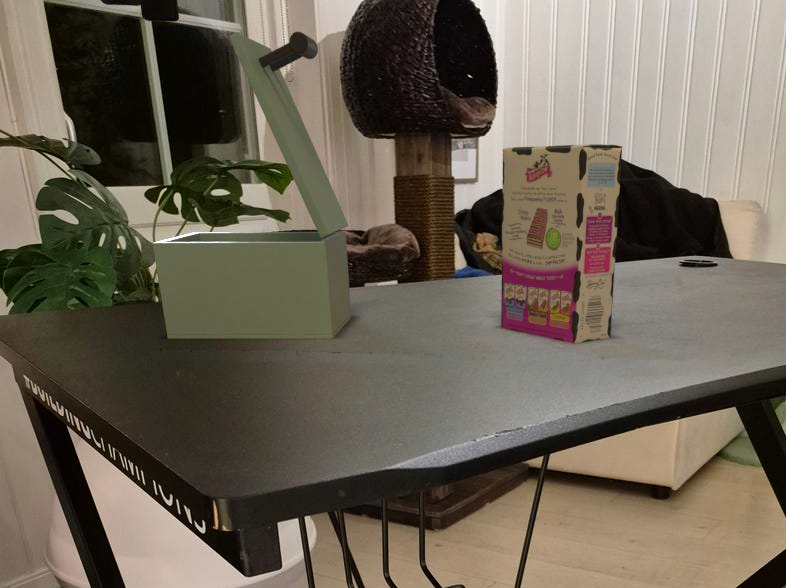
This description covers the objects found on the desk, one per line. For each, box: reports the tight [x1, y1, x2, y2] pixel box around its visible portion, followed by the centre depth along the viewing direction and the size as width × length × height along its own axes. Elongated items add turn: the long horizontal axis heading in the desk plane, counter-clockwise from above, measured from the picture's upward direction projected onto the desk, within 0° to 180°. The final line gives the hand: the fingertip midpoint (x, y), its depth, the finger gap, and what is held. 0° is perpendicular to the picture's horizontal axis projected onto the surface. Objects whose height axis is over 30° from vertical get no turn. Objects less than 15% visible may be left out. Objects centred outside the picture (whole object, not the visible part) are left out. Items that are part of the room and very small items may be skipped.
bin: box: [152, 231, 352, 340], centre depth 89 cm, size 16×13×9 cm
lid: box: [228, 31, 349, 238], centre depth 82 cm, size 16×13×5 cm
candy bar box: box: [500, 143, 623, 344], centre depth 84 cm, size 11×5×16 cm, turn 37°
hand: (142, 13), depth 77 cm, fingers open, 9 cm apart
